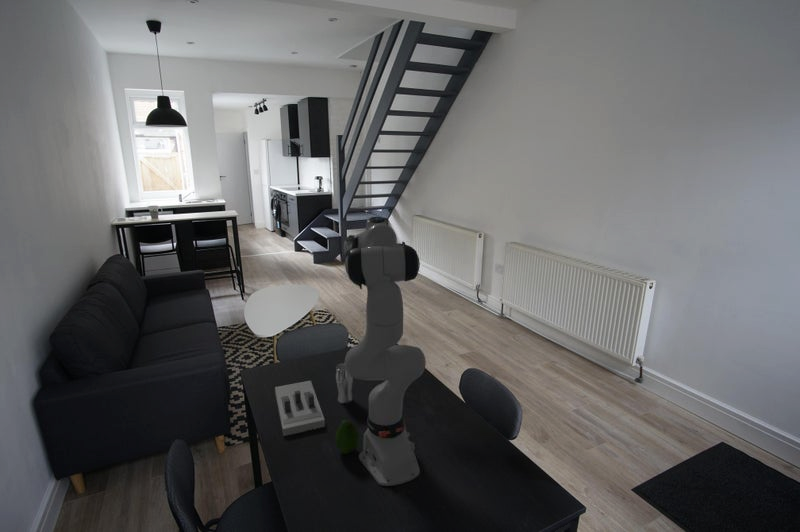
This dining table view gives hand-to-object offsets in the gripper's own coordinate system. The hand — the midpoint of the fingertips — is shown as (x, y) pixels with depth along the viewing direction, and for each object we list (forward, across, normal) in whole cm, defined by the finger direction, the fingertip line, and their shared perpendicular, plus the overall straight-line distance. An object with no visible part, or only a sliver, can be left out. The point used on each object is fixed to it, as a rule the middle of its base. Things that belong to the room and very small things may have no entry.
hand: (375, 277), depth 184 cm
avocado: (+22, -25, -63) cm, 72 cm away
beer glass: (+34, -21, -34) cm, 53 cm away
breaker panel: (+32, -40, -35) cm, 62 cm away
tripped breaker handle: (+29, -40, -34) cm, 60 cm away
